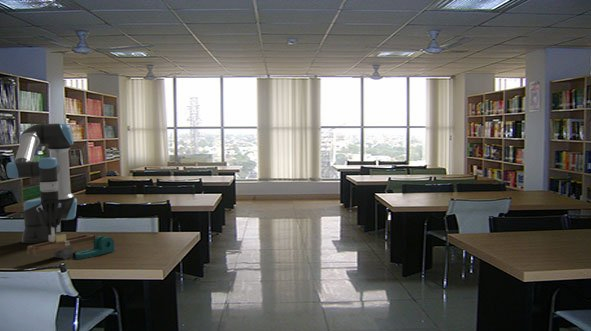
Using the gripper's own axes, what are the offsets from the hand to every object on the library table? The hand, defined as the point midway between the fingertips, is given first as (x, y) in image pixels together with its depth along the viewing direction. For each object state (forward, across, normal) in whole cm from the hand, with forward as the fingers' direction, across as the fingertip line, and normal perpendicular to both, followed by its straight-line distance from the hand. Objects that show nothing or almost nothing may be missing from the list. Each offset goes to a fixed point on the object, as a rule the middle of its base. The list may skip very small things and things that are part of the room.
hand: (51, 241), depth 228 cm
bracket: (+9, +15, -9) cm, 20 cm away
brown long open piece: (+9, +5, 0) cm, 10 cm away
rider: (+3, +3, 0) cm, 4 cm away
